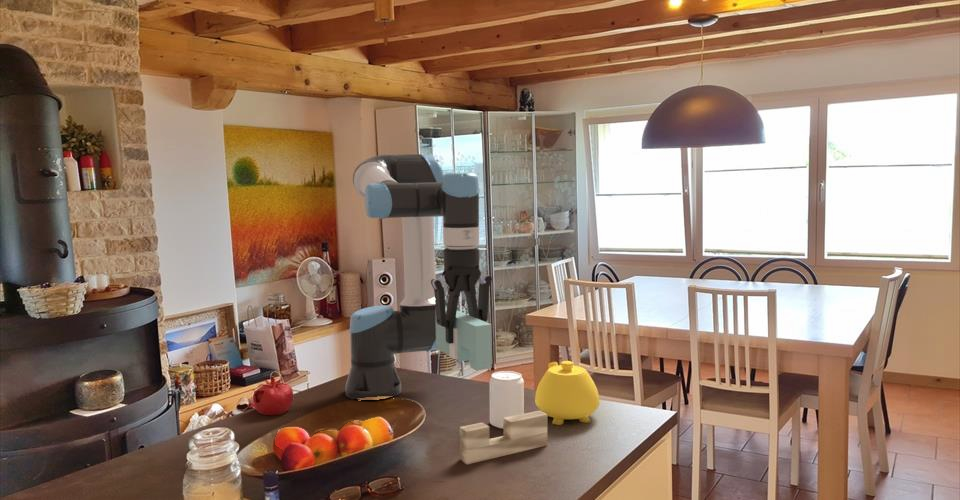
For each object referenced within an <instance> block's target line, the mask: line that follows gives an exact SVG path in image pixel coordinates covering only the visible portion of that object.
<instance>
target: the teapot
mask: <svg viewBox="0 0 960 500" xmlns="http://www.w3.org/2000/svg"><path fill="white" fill-rule="evenodd" d="M547 366H548V367H547V368H548V369H547V370H546V372H545V373H544V375H543V376H542V377H541V379H540V381H539V383H538V385H537V388H536V392H535V397H534V403H535V405H536V407H537V409H539V410H540V411H542V412H544V413H546V414H547V417H551V418H553V419H552V422H551V423H552V424H553V425H555V424H556V425H557V426H562V425H563V424H564V423H565V420H578V422H581V423H585V424H586V423H590V422H591V418H589V417H590V416H591V415H593V414H594V413H595V411H597V409H599V406H600V395H599V391H598V388H597V386H596V383H595V381H594V380H593V378H592V377H591V375H590V373H589V372H588V371H587V369H585V368H584V367H583V366H578V365H575V364H574V361H571V360H563V361H560V364H559V363H558V362H557V361H552V362H549V363H548V364H547Z"/></svg>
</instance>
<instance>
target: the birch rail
mask: <svg viewBox="0 0 960 500" xmlns="http://www.w3.org/2000/svg"><path fill="white" fill-rule="evenodd" d="M547 446H548V416H547V414H546V413H544V412H542V411H541V410H540V409H539V410H535V411H530V412H526V413H525V412H524V414H520V415H515V416H510V417H506V418H503V435H501V436H495V437H493V438H492V437H491V438H490V426H489V425H488V424H486V423H484V422H477V423H473V424H468V425H462V426H459V460H460V461H462V462H463V463H464V464H465V465H472V464H475V463H479V462H483V461H484V462H485V461H488V460H491V459H496V458H499V457H504V456H508V455H512V454H518V453H521V452H526V451H530V450H533V449H538V448H541V447H547Z"/></svg>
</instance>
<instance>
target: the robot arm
mask: <svg viewBox="0 0 960 500" xmlns="http://www.w3.org/2000/svg"><path fill="white" fill-rule="evenodd" d="M352 183H353V184H352V185H353V187H354V188H355V190H356V192H357V193H358V194H359V195H360V196H362V197H364V210H365V213H366V215H367V217H368V218H371V219H382V220H383V219H394V218H401V220H402V244H403V245H402V247H403V269H404V271H403V272H404V273H403V275H404V279H403V280H404V298H403V299H402V301H401V302H399V310H394V307H393V306H391V305H387V304H385V305H381V304H380V305H373V306H369V307H364V308H361V309H359V310H356V311H354V312H353V313H352V314H351V315H350V318H349V329H348V332H349V333H350V335H349V336H350V338H349V339H350V369H349V372H348V376H347V380H346V383H345V386H344V387H345V388H344V391H345V393H344V394H345V396H346V397H347V398H349V399H350V400H354V399H357V398H365V397H377V396H394V397H393V398H395V397H397V396H398V395H400V394H401V393H402V382H401V379H400V376H399V374H398V371H397V368H396V365H395V354H396V355H397V354H405V353H417V352H419V353H420V352H426V353H429V352H430V351H437V350H438V349H437V348H436V321H437V324H438V325H441V326H443V327H445V329H446V342H447V343H449V350H450V356H449V358H452V359H454V360H456V359H458V329H457V328H455V327H454V325H455V319H456V312H457V311H458V304H459V299H460V298H459V297H460V296H461V293H462V292H463V293H464V295H465V301H466V304H467V310H468V315H470V316H472V317H475V318H477V319H479V320H482V321H484V322H487V321H488V317H489V301H490V299H489V298H490V294H489V293H490V285H491V284H492V280H493V277H492V276H491V275H488V274H484V273H482V271H481V270H480V249H479V248H478V246H479V245H480V225H479V224H480V214H479V213H480V198H479V197H480V195H479V194H480V187H479V185H480V184H479V177H478V175H477V174H476V173H474V172H472V173H471V172H469V173H468V172H466V173H465V172H464V173H463V172H462V173H461V172H459V173H457V172H456V173H453V172H452V173H449V172H447V173H445V174H444V171H443V167H442V163H441V162H440V160H439V159H438V158H437V157H436V156H435V155H432V154H422V153H419V154H379V155H375V156H372V157H369V158H367V159H365V160H363V161H362V162H360V163H359V164H358V165H357V166H356V167H355V169H354V172H353V174H352ZM435 217H437V218H438V217H443V218H442V221H443V223H442V224H443V225H442V226H443V227H442V230H443V231H442V234H443V235H442V239H443V240H442V241H443V243H442V244H443V247H444V249H443V267H444V268H443V271H442V274H441V275H442V276H439V277H438V278H436V277H437V276H436V254H435V231H434V230H435V224H434V221H435V220H434V218H435ZM477 283H478V284H479V285H478V301H477V296H476V294H477V292H476V291H477V290H476V284H477ZM445 284H446V285H447V286H448V288H447V289H448V291H447V295H448V297H447V302H446V299H445V290H444V287H445ZM446 303H447V305H446ZM445 308H447V310H446V309H445ZM435 309H436V314H435ZM438 351H439V350H438Z"/></svg>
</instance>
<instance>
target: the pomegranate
mask: <svg viewBox="0 0 960 500" xmlns="http://www.w3.org/2000/svg"><path fill="white" fill-rule="evenodd" d="M275 377H276V376H275V375H272V376H270V378H269V379H270V381H268V380H263V382H265V383H260V384H259V385H258V386H256V387H257V389H256V391H255V392H254V393H253V395H252V402H253V406H254V408H255V410H256V412H258V413H259V414H261V415H266V416H276V415H281V414H285V413H286V412H287V411H288V410H289V409H290V408H291V407H292V405H293V401H294V397H295V396H294V390H293V388H292V386H290V385H289V384H288V383H283V382H281V381H285V382H286V381H287V379H283V378H280V379H278V380H277V381H276V378H275Z"/></svg>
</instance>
